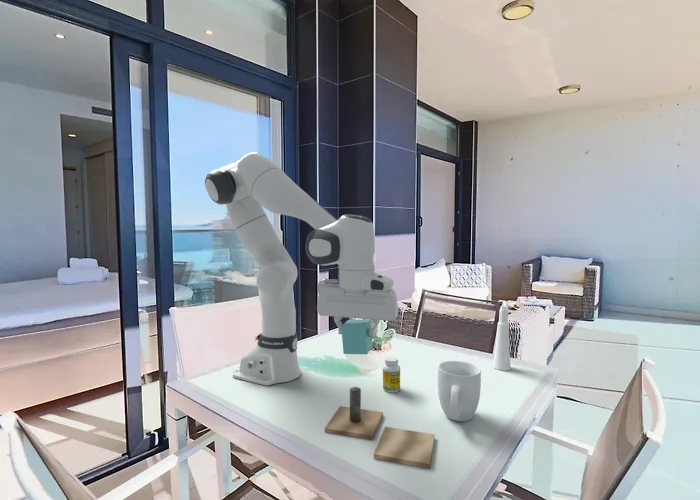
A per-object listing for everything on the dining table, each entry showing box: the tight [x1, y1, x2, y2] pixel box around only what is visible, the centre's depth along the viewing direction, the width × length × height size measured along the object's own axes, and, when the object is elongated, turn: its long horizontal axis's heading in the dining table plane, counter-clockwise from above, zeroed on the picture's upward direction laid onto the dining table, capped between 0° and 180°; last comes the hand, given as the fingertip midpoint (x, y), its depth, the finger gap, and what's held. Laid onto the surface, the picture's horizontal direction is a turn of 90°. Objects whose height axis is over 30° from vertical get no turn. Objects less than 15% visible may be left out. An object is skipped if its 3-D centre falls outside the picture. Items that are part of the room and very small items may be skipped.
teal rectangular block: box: [341, 319, 374, 355], centre depth 99 cm, size 6×6×7 cm
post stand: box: [324, 386, 384, 441], centre depth 100 cm, size 12×12×9 cm
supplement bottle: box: [382, 356, 401, 393], centre depth 121 cm, size 5×5×10 cm
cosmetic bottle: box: [492, 305, 512, 372], centre depth 138 cm, size 6×6×22 cm
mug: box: [437, 360, 482, 423], centre depth 103 cm, size 15×11×13 cm
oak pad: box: [373, 426, 436, 469], centre depth 90 cm, size 12×12×1 cm
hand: (356, 335), depth 98 cm, fingers closed on teal rectangular block, 6 cm apart
